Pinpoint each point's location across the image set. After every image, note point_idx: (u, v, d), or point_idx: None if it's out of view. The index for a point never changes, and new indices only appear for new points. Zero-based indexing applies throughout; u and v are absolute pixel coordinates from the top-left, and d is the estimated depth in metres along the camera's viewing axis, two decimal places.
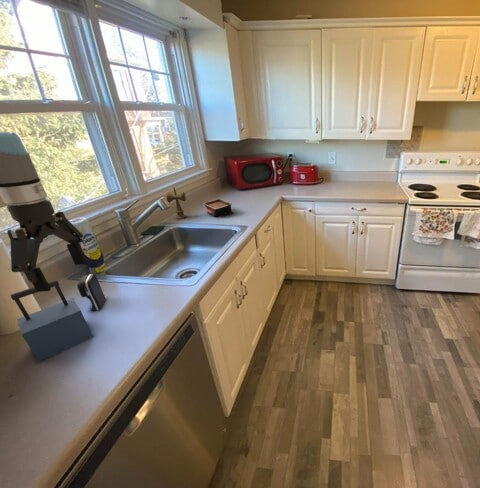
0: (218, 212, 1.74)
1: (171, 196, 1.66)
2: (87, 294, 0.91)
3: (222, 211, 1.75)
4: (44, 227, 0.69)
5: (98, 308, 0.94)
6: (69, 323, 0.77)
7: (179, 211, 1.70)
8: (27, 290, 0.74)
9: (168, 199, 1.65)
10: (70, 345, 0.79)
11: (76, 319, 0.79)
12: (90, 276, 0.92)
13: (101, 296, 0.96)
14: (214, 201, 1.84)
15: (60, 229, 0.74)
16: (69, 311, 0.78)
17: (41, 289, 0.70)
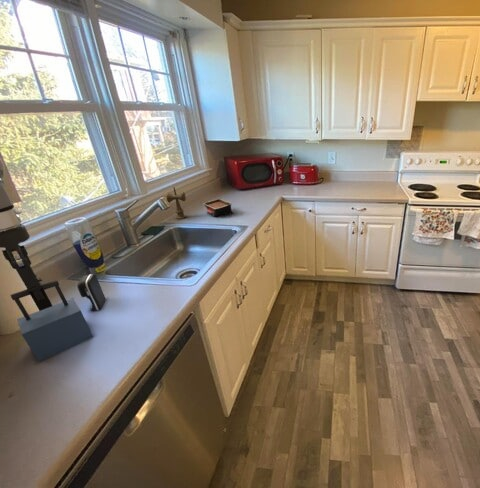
0: (218, 212, 1.74)
1: (171, 196, 1.66)
2: (87, 294, 0.91)
3: (222, 211, 1.75)
4: None
5: (98, 308, 0.94)
6: (69, 323, 0.77)
7: (179, 211, 1.70)
8: None
9: (168, 199, 1.65)
10: (70, 345, 0.79)
11: (76, 319, 0.79)
12: (90, 276, 0.92)
13: (101, 296, 0.96)
14: (214, 201, 1.84)
15: None
16: (69, 311, 0.78)
17: (44, 306, 0.76)
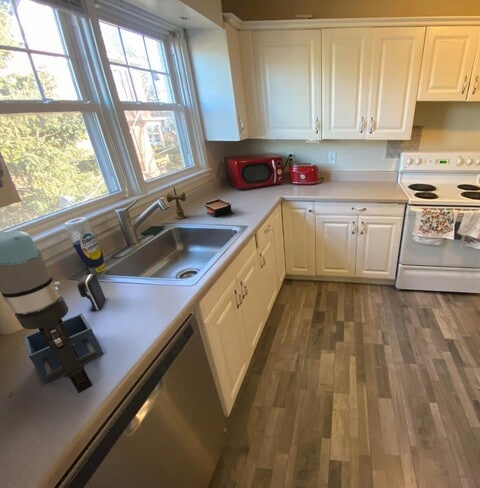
0: (218, 212, 1.74)
1: (171, 196, 1.66)
2: (87, 294, 0.91)
3: (222, 211, 1.75)
4: (64, 325, 0.62)
5: (98, 308, 0.94)
6: None
7: (179, 211, 1.70)
8: None
9: (168, 199, 1.65)
10: None
11: None
12: (90, 276, 0.92)
13: (101, 296, 0.96)
14: (214, 201, 1.84)
15: None
16: None
17: (84, 387, 0.66)
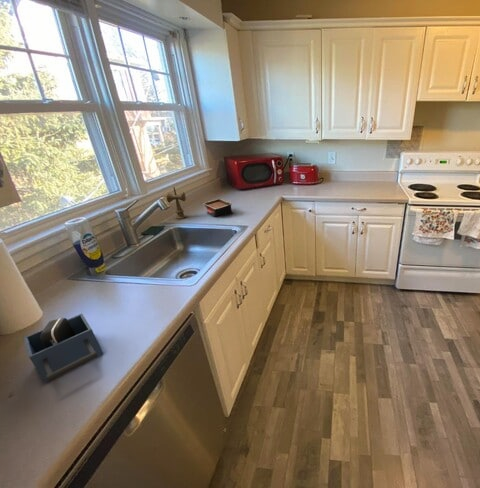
0: (218, 212, 1.74)
1: (171, 196, 1.66)
2: None
3: (222, 211, 1.75)
4: None
5: None
6: None
7: (179, 211, 1.70)
8: (66, 372, 0.65)
9: (168, 199, 1.65)
10: None
11: None
12: (59, 322, 0.72)
13: None
14: (214, 201, 1.84)
15: None
16: None
17: None
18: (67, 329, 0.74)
